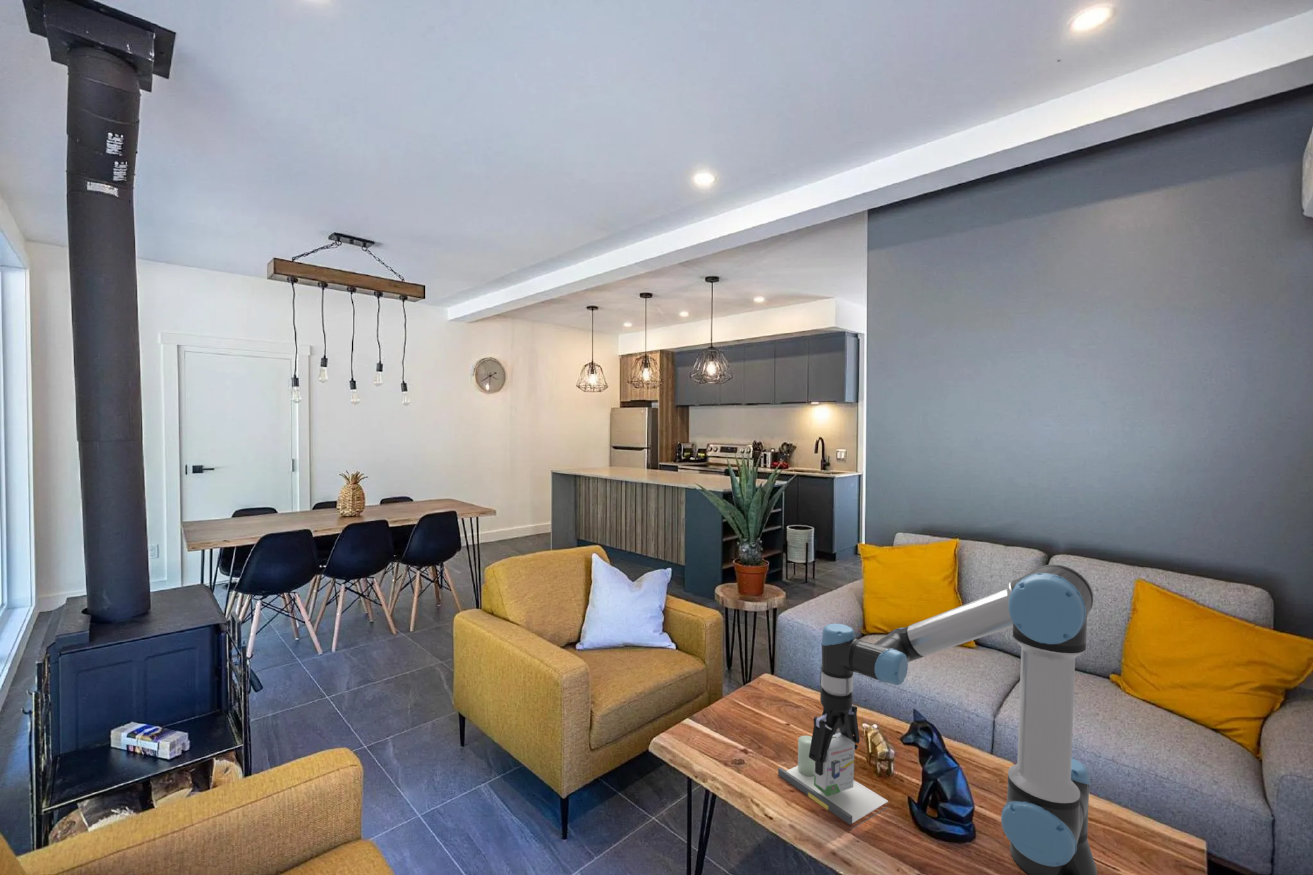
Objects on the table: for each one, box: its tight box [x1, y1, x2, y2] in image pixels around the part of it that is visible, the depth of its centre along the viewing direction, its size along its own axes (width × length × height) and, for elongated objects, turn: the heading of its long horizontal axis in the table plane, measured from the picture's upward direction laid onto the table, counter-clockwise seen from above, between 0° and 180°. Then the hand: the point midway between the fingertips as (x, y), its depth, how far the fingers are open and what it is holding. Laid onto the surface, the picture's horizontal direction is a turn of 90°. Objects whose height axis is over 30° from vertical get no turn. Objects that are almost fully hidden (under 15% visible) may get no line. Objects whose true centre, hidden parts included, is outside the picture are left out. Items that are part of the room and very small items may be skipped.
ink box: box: [814, 733, 856, 796], centre depth 141 cm, size 9×5×12 cm, turn 115°
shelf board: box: [777, 765, 889, 832], centre depth 143 cm, size 22×15×3 cm
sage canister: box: [797, 735, 815, 777], centre depth 150 cm, size 5×5×8 cm
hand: (833, 779), depth 141 cm, fingers closed on ink box, 9 cm apart
